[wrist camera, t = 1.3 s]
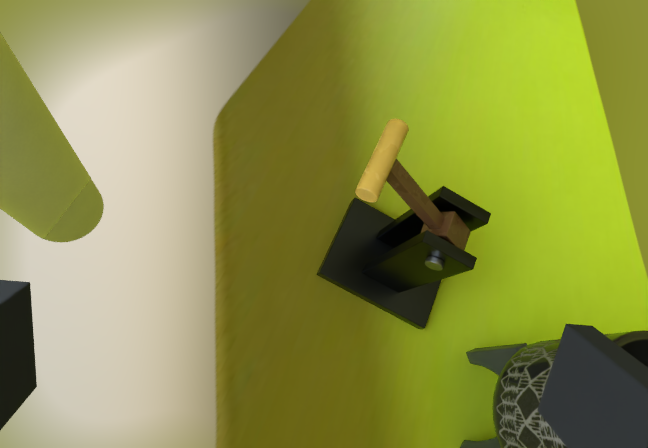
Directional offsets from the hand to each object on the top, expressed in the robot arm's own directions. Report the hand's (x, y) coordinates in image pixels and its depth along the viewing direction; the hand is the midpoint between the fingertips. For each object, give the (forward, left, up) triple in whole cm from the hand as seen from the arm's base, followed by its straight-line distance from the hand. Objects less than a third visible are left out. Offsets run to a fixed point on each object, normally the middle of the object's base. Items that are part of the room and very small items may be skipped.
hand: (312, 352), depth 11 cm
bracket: (+10, +15, -30) cm, 34 cm away
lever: (+5, +15, -17) cm, 23 cm away
